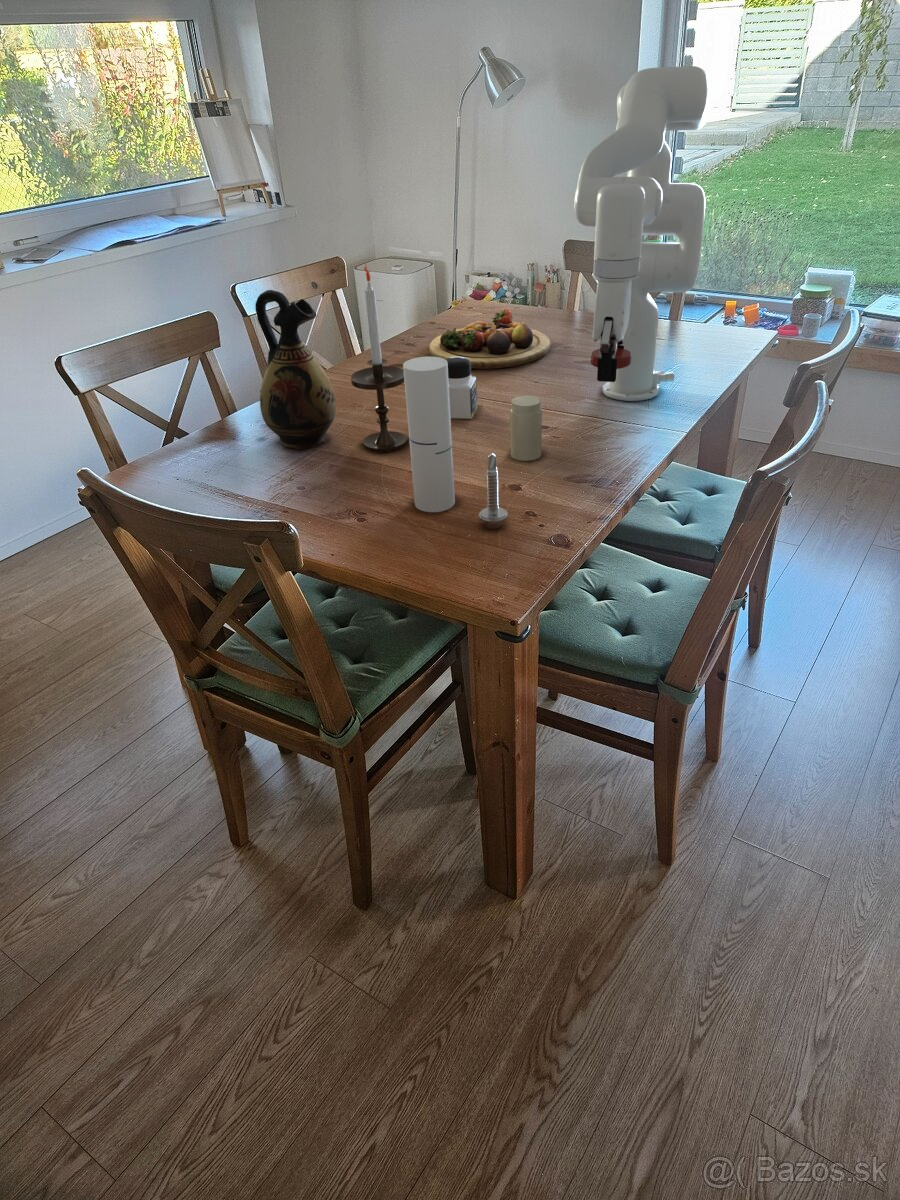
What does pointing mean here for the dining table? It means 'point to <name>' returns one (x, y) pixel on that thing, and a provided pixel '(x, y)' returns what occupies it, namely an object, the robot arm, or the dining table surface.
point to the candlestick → (378, 382)
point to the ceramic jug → (293, 378)
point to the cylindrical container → (430, 432)
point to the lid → (621, 355)
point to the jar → (526, 428)
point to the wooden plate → (492, 343)
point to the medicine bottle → (461, 388)
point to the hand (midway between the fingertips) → (610, 373)
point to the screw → (493, 498)
